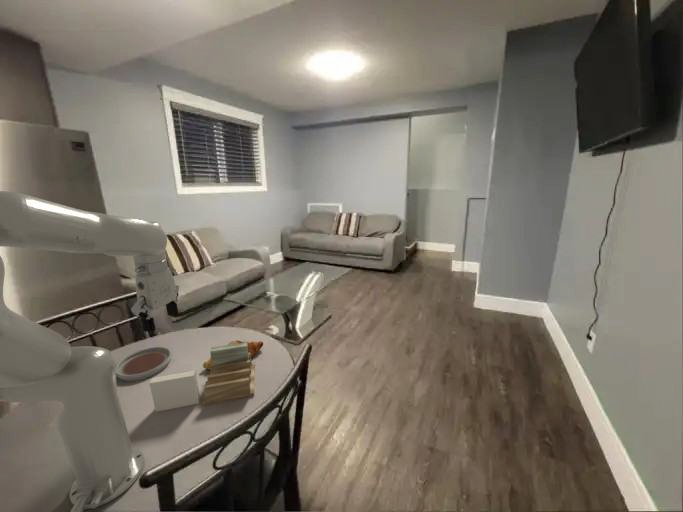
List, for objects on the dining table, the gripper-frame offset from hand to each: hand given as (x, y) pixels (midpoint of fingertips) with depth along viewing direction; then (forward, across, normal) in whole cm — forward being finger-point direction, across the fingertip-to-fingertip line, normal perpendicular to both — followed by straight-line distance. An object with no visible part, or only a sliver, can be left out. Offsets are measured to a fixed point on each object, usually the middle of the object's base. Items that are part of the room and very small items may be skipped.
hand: (162, 322), depth 83 cm
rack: (+22, +3, -17) cm, 28 cm away
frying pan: (+23, +5, +21) cm, 31 cm away
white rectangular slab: (+22, -6, -6) cm, 24 cm away
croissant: (+22, +16, -12) cm, 30 cm away
